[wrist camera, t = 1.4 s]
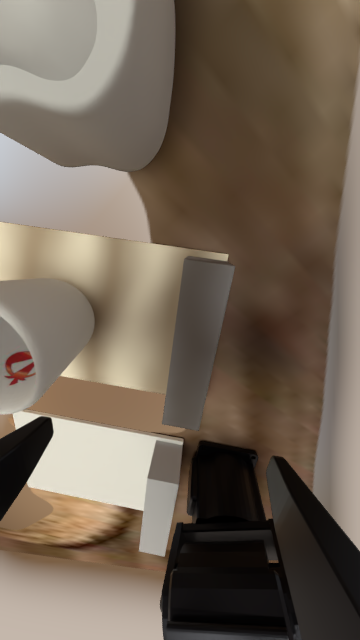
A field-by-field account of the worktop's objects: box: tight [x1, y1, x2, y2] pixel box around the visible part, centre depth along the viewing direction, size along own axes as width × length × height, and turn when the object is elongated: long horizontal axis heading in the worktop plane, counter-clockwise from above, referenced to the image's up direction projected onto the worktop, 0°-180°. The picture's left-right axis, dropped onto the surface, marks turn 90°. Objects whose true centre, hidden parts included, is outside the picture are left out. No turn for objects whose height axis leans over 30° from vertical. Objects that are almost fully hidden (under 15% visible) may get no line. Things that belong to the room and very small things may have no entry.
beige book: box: [0, 222, 235, 431], centre depth 17 cm, size 20×14×4 cm
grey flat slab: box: [13, 409, 184, 556], centre depth 24 cm, size 20×14×4 cm
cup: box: [0, 278, 95, 414], centre depth 15 cm, size 11×8×8 cm
